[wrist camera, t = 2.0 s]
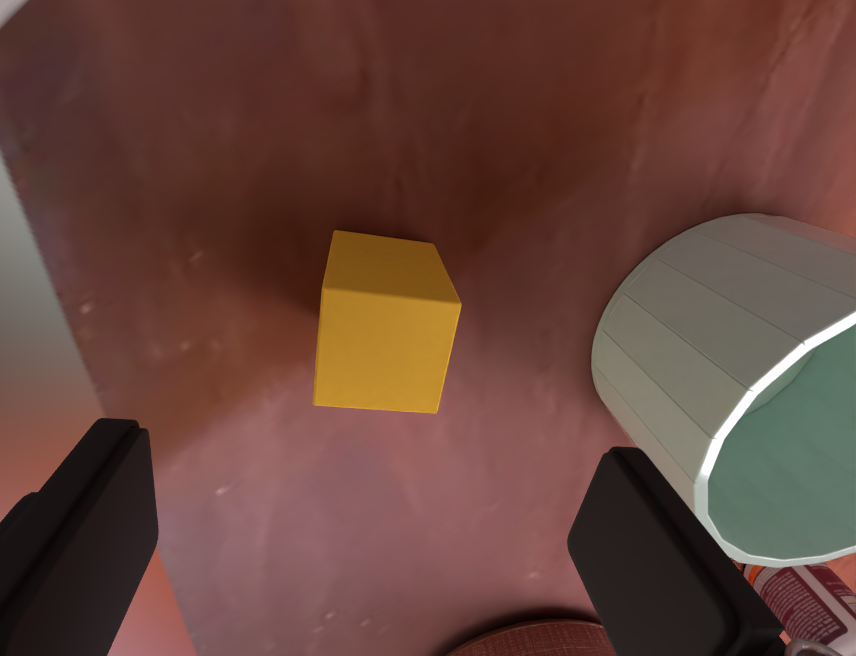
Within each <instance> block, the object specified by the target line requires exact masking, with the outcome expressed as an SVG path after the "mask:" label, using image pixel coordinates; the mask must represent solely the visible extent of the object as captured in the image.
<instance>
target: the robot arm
mask: <svg viewBox="0 0 856 656" xmlns="http://www.w3.org/2000/svg"><path fill="white" fill-rule="evenodd" d="M157 540H158V519H157V509H156V499H155V489H154V479H153V469H152V459H151V449H150V439H149V432H148V430H147V429H145V428H139V424H138V422H137V421H136V420H127V419H109V418H101V419H98V420H97V421H96V422H95V423H94V424H93V425H92V426H91V428H90V429H89V430H88V431H87V433H86V434H85V435H84V436H83V437H82V439H81V440H80V441H79V442H78V444H77V445H76V446H75V448H74V449H73V450H72V451H71V452H70V454H69V455H68V456H67V457H66V458H65V460H64V461H63V462H62V463H61V465H60V466H59V467H58V468H57V470H56V471H55V472H54V473H53V474H52V476H51V477H50V478H49V479H48V481H47V482H46V483H45V484H44V485H43V487H42V488H41V489H40V490H39V492H31V493H30V494H28V495H26V496H24V497H23V498H22V499H21V500H20V501H19V502H18V503H17V504H16V505H15V506H14V507H13V508H12V509H11V510H10V512H9V513H8V514H7V515H6V517H5V518H4V519H3V520H2V521H1V522H0V656H107V654H108V652H109V650H110V648H111V646H112V643H113V641H114V639H115V636H116V634H117V632H118V630H119V628H120V626H121V623H122V621H123V619H124V617H125V615H126V612H127V610H128V608H129V606H130V603H131V601H132V599H133V597H134V595H135V592H136V590H137V588H138V586H139V583H140V581H141V579H142V577H143V575H144V573H145V570H146V568H147V566H148V564H149V562H150V559H151V557H152V555H153V553H154V550H155V547H156V544H157ZM567 544H568V550H569V553H570V556H571V558H572V560H573V562H574V564H575V567H576V569H577V571H578V573H579V575H580V578H581V580H582V582H583V584H584V586H585V588H586V591H587V593H588V595H589V597H590V599H591V601H592V604H593V606H594V608H595V610H596V612H597V615H598V617H599V619H600V621H601V623H602V625H603V628H604V630H605V632H606V634H607V636H608V638H609V641H610V643H611V645H612V647H613V649H614V652H615V654H616V656H843V655H841V654H840V653H838V652H837V651H835V650H834V649H832V648H831V647H828V646H826V645H824V644H822V643H819V642H817V641H814V640H810V639H805V638H799V639H793V640H792V641H791V642H790V643H789V644H788V645H787V646H786V644H785V643H784V642H783V641H782V639H781V638H780V637H779V635H780V634H781V633H782V631H783V630H784V629H785V627H784V626H783V624H782V623H781V622H780V621H779V619H778V618H777V617H776V616H775V614H774V613H773V612H772V611H771V609H770V608H769V607H768V606H767V604H766V603H765V602H764V601H763V599H762V598H761V597H760V596H759V594H758V593H757V592H756V591H755V589H754V588H753V587H752V586H751V584H750V583H749V582H748V581H747V579H746V578H745V577H744V576H743V574H742V573H741V572H740V571H739V569H738V568H737V567H736V566H735V564H734V563H733V562H732V561H731V559H730V558H729V557H728V556H727V554H726V553H725V552H724V551H723V549H722V548H721V547H720V546H719V544H718V543H717V542H716V541H715V539H714V538H713V537H712V536H711V534H710V533H709V532H708V531H707V529H706V528H705V527H704V526H703V524H702V523H701V522H700V521H699V519H698V518H697V517H696V516H695V514H694V513H693V512H692V511H691V510H690V508H689V507H688V506H687V505H686V503H685V502H684V501H683V500H682V498H681V497H680V496H679V495H678V493H677V492H676V491H675V490H674V488H673V487H672V486H671V485H670V483H669V482H668V481H667V480H666V478H665V477H664V476H663V475H662V473H661V472H660V471H659V470H658V468H657V467H656V466H655V465H654V463H653V462H652V461H651V460H650V458H649V457H648V456H647V455H646V453H645V452H644V451H643V450H642V449H640V448H634V447H612V448H611V449H610V450H609V452H608V453H605V454H603V456H602V458H601V460H600V462H599V465H598V467H597V469H596V472H595V474H594V476H593V479H592V481H591V483H590V486H589V488H588V490H587V493H586V495H585V497H584V500H583V502H582V504H581V507H580V509H579V512H578V514H577V516H576V519H575V521H574V523H573V526H572V528H571V530H570V533H569V535H568V540H567Z"/></svg>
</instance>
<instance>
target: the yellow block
mask: <svg viewBox="0 0 856 656" xmlns="http://www.w3.org/2000/svg"><path fill="white" fill-rule="evenodd" d="M461 306H462V305H461V302H460V299H459V297H458V295H457V293H456V291H455V289H454V286H453V284H452V282H451V280H450V278H449V276H448V273H447V271H446V269H445V267H444V265H443V263H442V260H441V258H440V256H439V254H438V252H437V250H436V248H435V245H434V244H433V243H426V242H419V241H411V240H404V239H397V238H390V237H383V236H375V235H368V234H361V233H354V232H347V231H339V230H334V232H333V237H332V242H331V247H330V252H329V257H328V262H327V267H326V271H325V276H324V281H323V286H322V294H321V306H320V318H319V330H318V342H317V354H316V366H315V378H314V390H313V405H317V406H331V407H346V408H361V409H376V410H391V411H405V412H420V413H437V411H438V407H439V402H440V398H441V394H442V389H443V385H444V380H445V376H446V372H447V367H448V363H449V358H450V354H451V350H452V345H453V341H454V336H455V332H456V328H457V323H458V319H459V314H460V310H461Z"/></svg>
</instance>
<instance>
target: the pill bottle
mask: <svg viewBox="0 0 856 656" xmlns="http://www.w3.org/2000/svg"><path fill="white" fill-rule="evenodd" d="M744 577H745V578H746V579H747V581H748V582H749V583H750V584H751V586H752V587H753V588H754V589H755V591H756V592H757V593H758V594H759V596H760V597H761V598H762V599H763V601H764V602H765V603H766V604H767V606H768V607H769V608H770V609H771V611H772V612H773V613H774V614H775V616H776V617H777V618H778V619H779V621H780V622H781V623H782V624H783V626H784V627H785V629H784V631H785V632H786V633H787V635H788V636H789V637H790V638H791V640H793V639H799V638H805V639H810V640H814V641H817V642H819V643H822V644H824V645H826V646H828V647H831V648H832V649H834V650H835V651H837V652H838V653H840V654H841V655H843V656H856V594H855V593H854V592H853V591H852V590H851V589H850V588H849V587H848V586H847V585H846V584H845V583H844V582H843V581H842V580H841V579H840V578H839V577H838V576H837V575H836V574H835V573H834V572H833V571H832V570H831V569H830V568H829V567H828V566H827V565H826V564H825V563H824V562H822V563H817V564H808V565H799V566H791V567H782V568H773V567H766V566H759V565H752V564H747V565H746V567H745V570H744Z"/></svg>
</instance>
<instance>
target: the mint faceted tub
mask: <svg viewBox="0 0 856 656" xmlns="http://www.w3.org/2000/svg"><path fill="white" fill-rule="evenodd" d="M591 369H592V377H593V382H594V385H595V388H596V391H597V393H598V395H599V397H600V399H601V401H602V403H603V404H604V405H605V407H606V408H607V409H608V411H609V412H610V414H611V415H612V417H613V419H614V420H615V421H616V423H617V424H618V425H619V427H620V428H621V429H622V431H623V432H624V433H625V435H626V436H627V437H628V439H629V440H630V441H631V442H632V444H633V445H634V446H635V448H640V449H642V450H643V451H644V452H645V453H646V455H647V456H648V457H649V458H650V460H651V461H652V462H653V463H654V465H655V466H656V467H657V468H658V470H659V471H660V472H661V473H662V475H663V476H664V477H665V478H666V480H667V481H668V482H669V483H670V485H671V486H672V487H673V488H674V490H675V491H676V492H677V493H678V495H679V496H680V497H681V498H682V500H683V501H684V502H685V503H686V505H687V506H688V507H689V508H690V510H691V511H692V512H693V513H694V514H695V516H696V517H697V518H698V519H699V521H700V522H701V523H702V524H703V526H704V527H705V528H706V529H707V531H708V532H709V533H710V534H711V536H712V537H713V538H714V539H715V541H716V542H717V543H718V544H719V546H720V547H721V548H722V549H723V551H724V552H725V553H726V554H727V556H729V557H730V558H732V559H734V560H736V561H737V562H740V563H745V564H752V565H759V566H766V567H773V568H782V567H791V566H799V565H808V564H817V563H822V562H826V561H829V560H832V559H835V558H839V557H842V556H845V555H848V554H852V553H855V552H856V238H854V237H851V236H847V235H844V234H841V233H837V232H834V231H831V230H827V229H824V228H821V227H817V226H814V225H811V224H807V223H804V222H801V221H797V220H794V219H791V218H787V217H783V216H775V215H770V214H760V213H748V214H736V215H730V216H725V217H720V218H717V219H714V220H711V221H707V222H704V223H702V224H699V225H697V226H695V227H693V228H690V229H688V230H686V231H684V232H682V233H680V234H679V235H677V236H675V237H674V238H672V239H670V240H668V241H667V242H666V243H664V244H663V245H661V246H660V247H659V248H657V249H656V250H655V251H653V252H652V253H651V254H650V255H648V256H647V257H646V258H645V259H644V260H643V261H642V262H641V263H640V264H638V265H637V266H636V268H635V269H634V270H633V271H632V272H631V273H630V274H629V275H628V276H627V277H626V278H625V280H624V281H623V282H622V284H621V285H620V286H619V288H618V289H617V290H616V292H615V293H614V295H613V296H612V298H611V300H610V301H609V303H608V305H607V306H606V308H605V310H604V312H603V315H602V317H601V319H600V321H599V324H598V327H597V330H596V333H595V337H594V341H593V347H592V353H591Z"/></svg>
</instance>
